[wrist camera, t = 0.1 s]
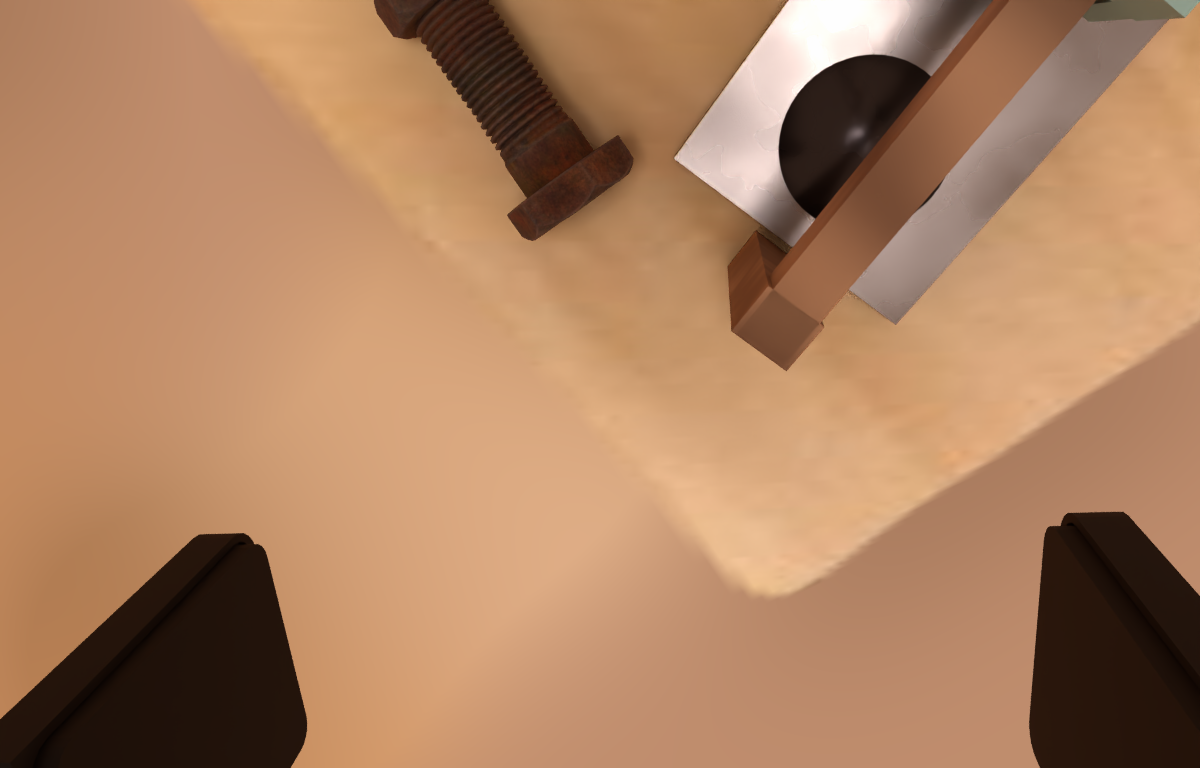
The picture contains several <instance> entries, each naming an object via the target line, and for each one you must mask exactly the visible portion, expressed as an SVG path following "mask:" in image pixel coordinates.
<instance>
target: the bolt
mask: <svg viewBox="0 0 1200 768" xmlns="http://www.w3.org/2000/svg"><path fill="white" fill-rule="evenodd" d="M488 3H489V0H374V4H375V8H376V11H377V14H378V15H379V17H380V18H381V20H382V21H383V23H384V24H385V25H386V27H387V28H388V30H389V31H390V32H391V34H392V35H393V37H398V38H403V39H411V38H416V37H422V39H421V42H422V44H426V45H427V47H426V49H427V51H429V52H432V58H434V59H437V61H436V63H437V65H438V66H442V69H441V70H442V72H443V73H447V76H446V77H447V79H448V80H452V83H451V84H452V86H453V87H454V88H456V87H457V90H456V92H457V93H458V95H461V94H462V97H461V98H462V101H465V102H467V107H468V108H470V109H471V108H472V114H473V115H477V118H476V119H477V122H482V125H481V128H482V129H487V132H486V136H492V137H491V142H492V144H493V143H497V144H496V147H495V148H496V150H501V153H500V156H501V157H502V159H503V160H504V161H505V166H506V168H507V170H508V171H509V172H510V174H511V175H512V177H513V178H514V180H515V181H516V183H517V184H518V186H519V187H520V188H521V190H522V191H523V193H524V194H525V196H526V197H527V199H526V200H525V201H523V202H522V203H521V204H519V205H518V206H517V207H516V208H515V209H513V210H512V211H511V212H510V213H509V214H508V215H507V216H508V217H509V219H510V220H511V222H512V223H513V225H514V226H515V227H516V229H517V230H518V232H519V233H520V234H521V236H522V237H524V238H526V239H528V240H531V241H534V240H536V239H538V238H539V237H540V236H542V235H543V234H545V233H546V232H548V231H549V230H551V229H552V228H553V227H555V226H556V225H558V224H559V223H560V222H562V221H563V220H565V219H566V218H568V217H570V216H571V215H573V214H574V213H576V212H577V211H578V210H580V209H581V208H582V207H584V206H585V205H587V204H588V203H589V202H591V201H592V200H593V199H595V198H596V197H598V196H599V195H600V194H602V193H603V192H604V191H606V190H607V189H608V188H610V187H611V186H613V185H614V184H615V183H617V182H619V181H620V180H621V179H623V178H624V177H625V176H626V175H628V174H629V172H630V170H631V168H632V164H633V157H632V156H631V154H630V152H629V151H628V149H627V148H626V146H625V145H624V143H623V142H622V140H621V139H620V137H619V136H618V135H617V136H616V137H614V138H613V139H611V140H610V141H608V142H607V143H605V144H604V145H602V146H601V147H599V148H598V149H596V150H595V151H593V149H592V148H591V146H590V145H589V143H588V142H587V140H586V139H585V137H584V136H583V134H582V133H581V131H580V130H579V128H578V127H577V125H576V124H575V123H574V121H573V120H572V119H571V118H569V117H568V116H567V114H566V113H564V112H562V107H561V106H555V105H556V103H557V100H556V99H550V98H551V96H552V92H545V91H546V90H547V87H548V86H547V85H541V83H542V81H543V79H542V78H536V77H537V75H538V71H537V70H532V67H533V64H532V63H527V61H528V56H522V54H523V52H524V51H523V49H517V48H518V45H519V43H518V42H512V41H513V38H514V36H513V35H507V34H508V32H509V28H507V27H503V24H504V21H502V20H498V17H499V14H498V13H493V10H494V6H492V5H488Z"/></svg>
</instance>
